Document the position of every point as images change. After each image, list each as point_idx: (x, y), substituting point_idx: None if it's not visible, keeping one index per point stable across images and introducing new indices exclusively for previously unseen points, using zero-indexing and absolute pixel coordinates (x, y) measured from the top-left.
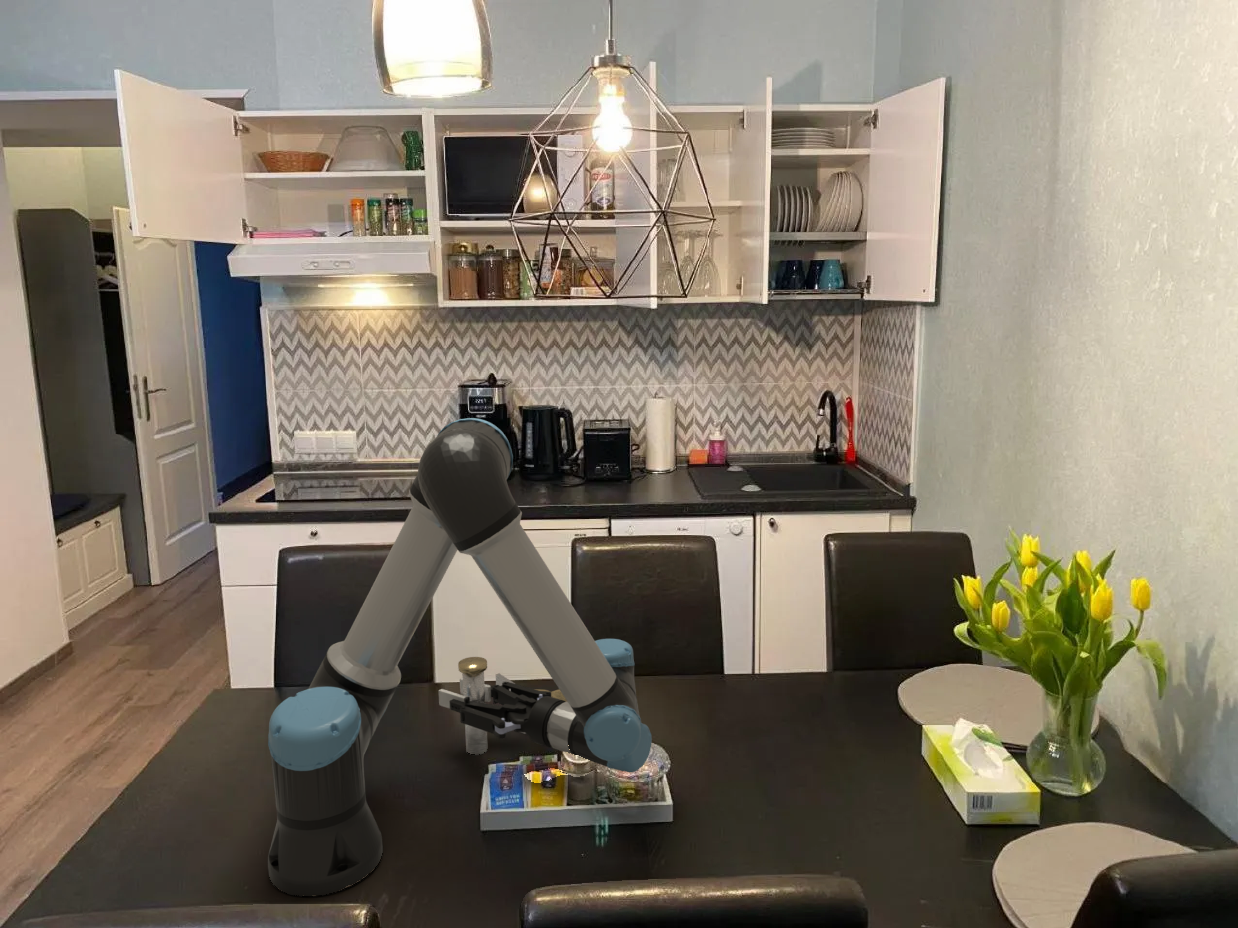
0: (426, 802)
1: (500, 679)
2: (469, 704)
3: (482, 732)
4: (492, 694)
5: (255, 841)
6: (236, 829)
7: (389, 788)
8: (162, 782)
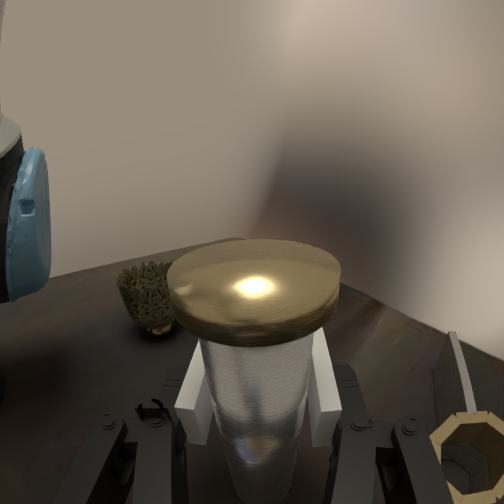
0: (46, 474)
1: (450, 346)
2: (141, 432)
3: (253, 491)
4: (335, 438)
5: (7, 341)
6: (26, 325)
7: (80, 412)
8: (99, 271)
